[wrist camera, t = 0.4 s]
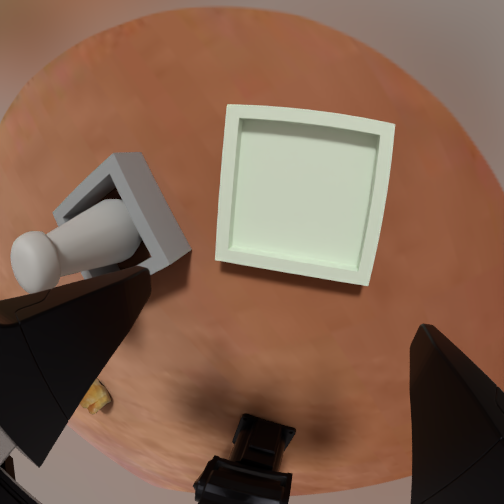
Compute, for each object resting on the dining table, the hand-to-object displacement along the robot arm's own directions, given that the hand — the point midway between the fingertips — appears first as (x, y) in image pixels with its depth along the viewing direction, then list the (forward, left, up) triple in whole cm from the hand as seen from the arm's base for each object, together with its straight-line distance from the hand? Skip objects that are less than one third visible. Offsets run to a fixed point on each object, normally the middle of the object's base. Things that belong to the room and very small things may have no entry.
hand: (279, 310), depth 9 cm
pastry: (-32, +23, -16) cm, 43 cm away
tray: (+2, +1, -15) cm, 15 cm away
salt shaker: (-5, +16, -15) cm, 23 cm away
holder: (-5, +16, -15) cm, 23 cm away
